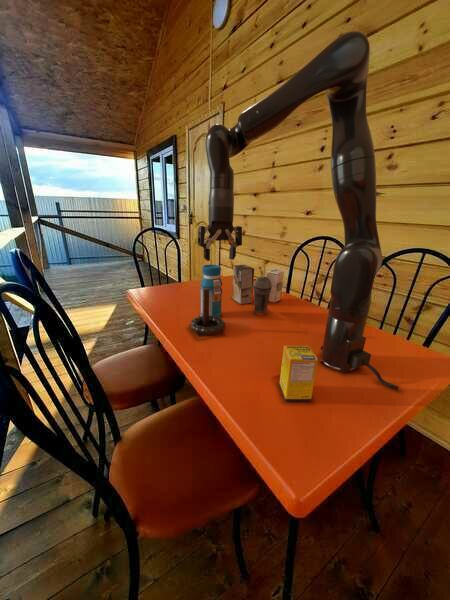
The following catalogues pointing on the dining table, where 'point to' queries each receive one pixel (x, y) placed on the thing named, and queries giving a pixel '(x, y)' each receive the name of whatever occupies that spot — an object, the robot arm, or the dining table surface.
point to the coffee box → (243, 284)
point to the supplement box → (298, 373)
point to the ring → (207, 330)
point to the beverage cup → (261, 293)
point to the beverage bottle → (212, 289)
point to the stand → (205, 312)
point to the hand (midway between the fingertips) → (220, 259)
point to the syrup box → (275, 284)
